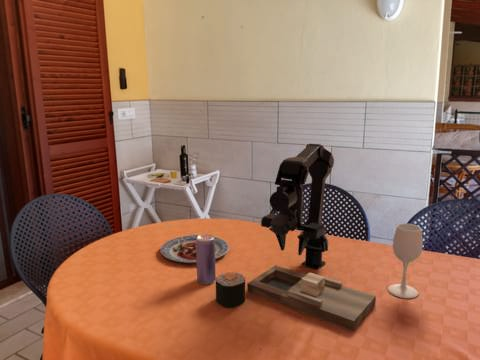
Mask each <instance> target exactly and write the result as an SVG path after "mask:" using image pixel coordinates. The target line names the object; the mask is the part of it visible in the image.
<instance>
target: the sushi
mask: <svg viewBox="0 0 480 360" xmlns="http://www.w3.org/2000/svg"><path fill="white" fill-rule="evenodd" d="M215 301H216V303H217V304H218V305H219V306H221V307H223V308H227V309H231V308H237V307H240V306H242V305H244V303H245V302H246V276H244V275H243V273H240V272H237V271H236V272H235V271H231V272H230V271H227V272H226V273H225V272H224V273H223V272H222V273H221V274H218V276H216V279H215Z"/></svg>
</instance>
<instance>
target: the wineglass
mask: <svg viewBox="0 0 480 360" xmlns="http://www.w3.org/2000/svg"><path fill="white" fill-rule="evenodd" d="M422 230H423V229H422V227H420V226H419V225H416V224H413V223H399V224H398V225H397V226H396V229H395V231H394V234H393V235H394V236H393V239H392V251H393V254H394V255H395V257H396V258H397V259H398V260H399V261H400V262H402V265H403V268H402V269H403V270H402V278H401V283H394V284H391V285H389V286H388V287H387V291H388V292H389V293H390V294H391V295H392V296H395V297H398V298H401V299H410V300H411V299H414V298H417V297H418V295H419V292H418V290H416V288H415V287H412V286H410V285H408V284H407V270H408V266H409V264H410V263H413V262H414V261H417V259H419V258H420V256H421V254H422V251H423V246H424V245H423V243H424V242H423V240H424V239H423V231H422Z"/></svg>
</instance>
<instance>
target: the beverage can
mask: <svg viewBox="0 0 480 360" xmlns="http://www.w3.org/2000/svg"><path fill="white" fill-rule="evenodd" d="M198 235H199V236H197V240H196V258H197V262H196V280H197V282H198V283H199V284H200V285H211V284H213V283H214V282H216V277H217V276H216V259H215V239H214V237H215V236H214V235H212V234H209V233H208V234H207V233H206V234H198Z"/></svg>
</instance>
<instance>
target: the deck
mask: <svg viewBox="0 0 480 360" xmlns="http://www.w3.org/2000/svg"><path fill="white" fill-rule="evenodd" d="M306 275H307V274H305V273H302V272H299V271H297V270H293V269H289V268H286V267H283V266H281V265H276V264H275V265H274V266H272V267H270V268H269V269H268V270H266V271H264V272H262V273H261V274H259V275H258V276H256V277H255V278H253V279H251V280H250V281H248V282H247V283H246V284H247V285H246V286H247V288H246V289H247V290H246V291H247V293H249V294H251V295H253V296H257V297H259V298H262V299H265V300H267V301H270V302H273V303H274V304H275V303H276V304H278V305H281V306H283V307H286V308H289V309H292V310H294V311H297V312H300V313H302V314H305V315H308V316H311V317H314V318H316V319H319V320H321V321H324V322H327V323H329V324H332V325H335V326H336V327H337V326H338V327H341V328H342V329H346V330H348V331H351V332H354V331H355V330H356V329H357V327H359V326H360V324H361V323H362V322H363V321H364V320H365V318H366V317H367V316H368V315H369V313H370V312H371V311H372V310H373V309H374V307H375V306H376V302H377V301H376V298H377V296H376V295H374V294H371V293H367V292H364V291H362V290H361V291H360V290H357V289H355V288H351V287H348V286H344V285H343V282H342V281H339V280H335V279H333V278H329V277H325V276H324V277H325V284H324V290H323V291H322V292H321V293H320V294H319V295H317V296H314V295H311V294H308V293H305V292H302V291H301V279H302V278H303V277H304V276H306Z"/></svg>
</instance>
